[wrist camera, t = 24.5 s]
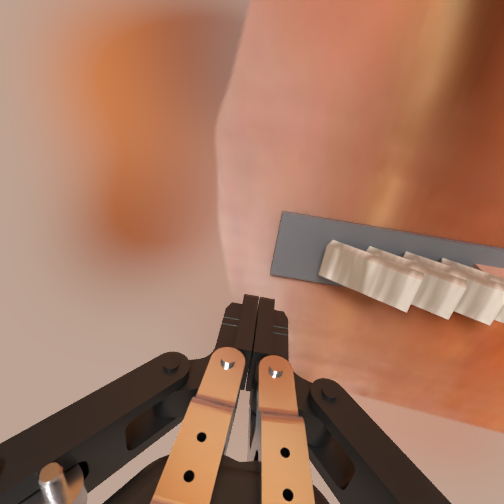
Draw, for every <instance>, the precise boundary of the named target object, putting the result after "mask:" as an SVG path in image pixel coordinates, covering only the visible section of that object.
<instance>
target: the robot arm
mask: <svg viewBox="0 0 504 504" xmlns="http://www.w3.org/2000/svg"><path fill="white" fill-rule="evenodd" d="M258 300H259V304H258ZM274 304H275V299H269V298H264V297H260V299H259V297H258V296H253V295H247V294H244V299H243V304H238V303H233V302H232V303H231V304H230V305H229V306H228V307H227V308H226V310H225V314H224V318H223V321H222V325H221V328H220V332H219V336H218V339H217V343H216V347H215V349H214V351H213V352H212V353H211V354H210V355H208V356H207V357H205V358H202V359H196V360H188V359H187V357H186V356H185V355H183V354H181V353H178V352H167V353H164V354H162V355H160V356H158V357H156V358H154V359H152V360H151V361H149V362H147V363H145V364H144V365H142V366H140V367H138V368H136V369H134V370H133V371H131V372H129V373H127V374H125V375H124V376H122V377H120V378H118V379H117V380H115V381H113V382H111V383H109V384H108V385H106V386H104V387H102V388H101V389H99V390H96V391H95V392H93V393H91V394H89V395H87V396H86V397H84V398H82V399H80V400H79V401H77V402H75V403H73V404H71V405H69V406H68V407H66V408H64V409H62V410H60V411H59V412H57V413H55V414H53V415H51V416H49V417H48V418H46V419H44V420H42V421H40V422H39V423H37V424H35V425H33V426H31V427H30V428H28V429H26V430H24V431H22V432H21V433H19V434H17V435H15V436H14V437H12V438H10V439H8V440H6V441H4V442H2V443H1V444H0V504H86V503H87V493H89V492H90V491H91V490H93V489H94V488H95V487H97V486H98V485H99V484H100V483H102V482H103V481H104V480H106V479H107V478H108V477H110V476H111V475H112V474H113V473H115V472H116V471H118V470H119V469H120V468H122V467H123V466H124V465H125V464H127V463H128V462H129V461H131V460H132V459H133V458H135V457H136V456H137V455H139V454H140V453H141V452H142V451H144V450H145V449H146V448H148V447H149V446H150V445H152V444H153V443H154V442H156V441H157V440H158V439H160V438H161V437H162V436H164V435H165V434H166V433H167V432H169V431H170V430H171V429H173V428H174V427H175V426H177V425H178V424H179V423H180V422H182V420H183V422H182V425H181V427H180V429H179V432H178V435H177V437H176V440H175V442H174V445H173V447H172V450H171V452H170V455H167V456H164V457H162V458H159V459H158V460H156V461H154V462H152V463H151V464H149V465H148V466H146V467H145V468H144V469H143V470H141V471H140V472H139V473H138V474H137V475H136V476H134V477H133V478H132V479H131V480H130V481H129V482H127V483H126V484H125V485H124V486H123V487H122V488H121V489H119V490H118V491H117V492H116V493H115V494H113V495H112V496H111V497H110V498H109V499H108V500H106V501H105V502H104V503H103V504H329V502H328V501H327V499H326V498H325V497H324V496H323V494H322V493H321V492H320V491H319V490H318V489H317V488H316V487H315V486H314V485H313V484H312V477H311V469H310V462H309V459H310V461H311V462H312V464H313V465H314V467H315V468H316V469H317V471H318V472H319V474H320V475H321V476H322V478H323V479H324V481H325V482H326V484H327V485H328V487H329V488H330V490H331V491H332V492H333V494H334V495H335V497H336V498H337V499H338V501H339V502H340V504H451V503H450V502H449V501H448V500H447V498H446V497H445V496H444V495H443V494H442V493H441V492H440V491H439V490H438V489H437V488H436V487H435V486H434V485H433V484H432V482H430V480H429V479H428V478H427V477H426V476H425V475H424V474H423V473H422V472H421V471H420V470H419V469H418V468H417V467H416V465H415V464H414V463H413V462H412V461H411V460H410V459H409V458H408V457H407V456H406V455H405V454H404V453H403V452H402V451H401V450H400V448H399V447H398V446H397V445H396V444H395V443H394V442H393V441H392V440H391V439H390V438H389V437H388V436H387V435H386V434H385V433H384V431H382V429H380V427H379V426H378V425H377V424H376V423H375V422H374V421H373V420H372V419H371V418H370V417H369V416H368V414H367V413H366V412H365V411H364V410H363V409H362V408H361V407H360V406H359V405H358V404H357V403H356V402H355V401H354V400H353V398H352V397H351V396H350V395H349V394H348V393H347V392H346V391H345V390H344V389H343V388H342V387H341V386H340V385H339V384H338V383H336V382H335V381H333V380H330V379H325V378H321V379H318V380H316V381H314V382H313V383H311V382H309V381H307V380H305V379H303V378H301V377H299V376H298V375H297V374H295V373H294V372H293V368H292V366H291V364H290V363H289V361H288V319H287V317H286V315H285V313H284V312H283V311H277V310H274ZM257 307H258V309H257ZM248 368H249V369H248ZM247 373H248V377H247ZM246 378H247V384H246V391H251V392H250V408H249V431H248V457H247V462H238V461H236V460H234V459H232V458H230V457H228V456H226V450H227V446H228V442H229V438H230V433H231V429H232V425H233V421H234V417H235V413H236V408H237V403H238V398H239V393H240V390H244V388H245V383H246Z"/></svg>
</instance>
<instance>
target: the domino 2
mask: <svg viewBox="0 0 504 504" xmlns="http://www.w3.org/2000/svg"><path fill="white" fill-rule="evenodd" d="M365 252H368V253H371V254H374V255H376V256H379V257H382V258H385V259H387V260H390V261H393V262H395V263H398V264H401V265H404V266H406V267H409V268H412V269H415V270H417V271H420V272H423V273H424V276H423V280H422V282H421V284H420V286H419V288H418V290H417V293H416V295H415V297H414V299H413V301H412V303H411V305H414V306H416V307H419V308H421V309H423V310H426V311H428V312H431V313H433V314H436V315H438V316H440V317H443V318H445V319H448V320H449V318H450V316H451V315H452V313H453V311H454V309H455V308H456V306H457V304H458V302H459V301H460V299H461V297H462V295H463V294H464V292H465V290H466V287H467V280H465V279H462V278H459V277H456V276H453V275H450V274H448V273H445V272H442V271H439V270H436V269H434V268H431V267H428V266H425V265H422V264H419V263H417V262H414V261H411V260H408V259H405V258H403V257H400V256H397V255H394V254H391V253H388V252H386V251H383V250H380V249H377V248H374V247H372V246H369V248H368V249H367V250H366V251H365Z"/></svg>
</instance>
